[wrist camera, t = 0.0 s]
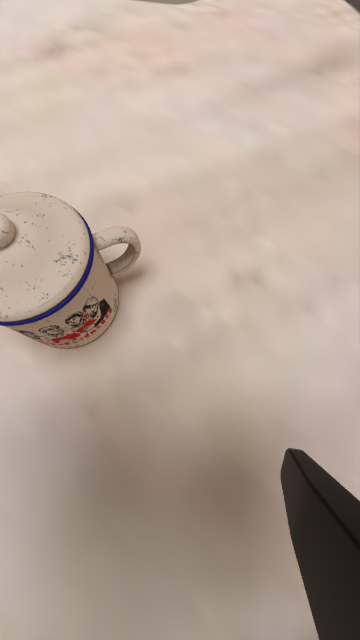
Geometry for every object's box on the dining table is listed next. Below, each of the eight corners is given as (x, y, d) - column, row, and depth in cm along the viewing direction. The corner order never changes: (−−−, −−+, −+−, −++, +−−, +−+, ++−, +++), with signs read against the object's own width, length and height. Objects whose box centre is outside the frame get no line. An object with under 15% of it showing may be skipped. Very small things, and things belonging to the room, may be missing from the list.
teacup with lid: (38, 369, 24) (-88, 338, 13) (10, 280, 27) (-115, 190, 15) (167, 312, 25) (153, 239, 14) (129, 233, 28) (92, 117, 17)
